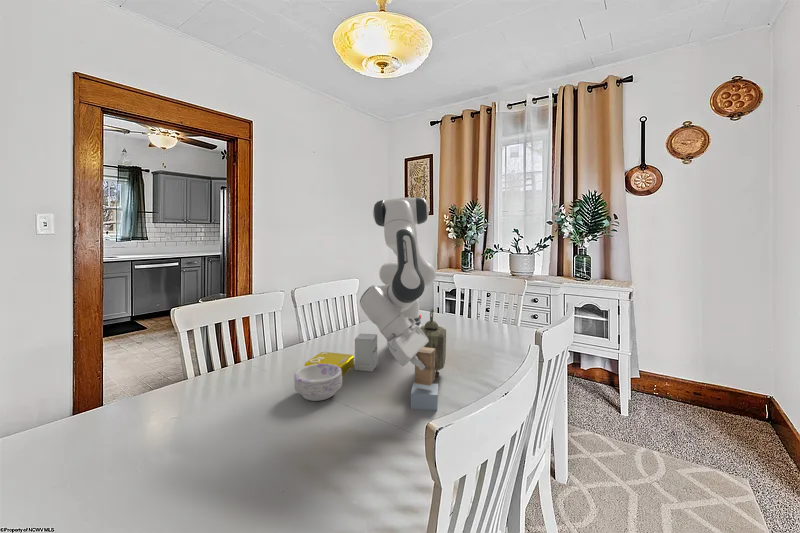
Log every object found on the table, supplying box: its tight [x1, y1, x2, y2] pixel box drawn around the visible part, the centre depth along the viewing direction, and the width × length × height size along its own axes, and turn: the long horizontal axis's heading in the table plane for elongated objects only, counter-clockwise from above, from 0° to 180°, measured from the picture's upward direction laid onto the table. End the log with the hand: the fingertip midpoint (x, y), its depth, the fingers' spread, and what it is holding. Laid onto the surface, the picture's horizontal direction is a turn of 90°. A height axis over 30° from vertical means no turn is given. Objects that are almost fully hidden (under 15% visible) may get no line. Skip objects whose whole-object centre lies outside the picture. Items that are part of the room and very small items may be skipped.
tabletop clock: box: [420, 308, 447, 377], centre depth 136 cm, size 14×9×25 cm, turn 168°
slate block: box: [410, 381, 439, 411], centre depth 115 cm, size 8×8×5 cm
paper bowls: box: [293, 364, 343, 402], centre depth 121 cm, size 15×15×8 cm
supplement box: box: [354, 333, 378, 372], centre depth 144 cm, size 7×7×13 cm
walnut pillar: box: [414, 347, 436, 386], centre depth 114 cm, size 5×5×10 cm
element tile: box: [304, 351, 355, 377], centre depth 143 cm, size 15×15×5 cm
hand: (427, 364), depth 114 cm, fingers closed on walnut pillar, 5 cm apart
